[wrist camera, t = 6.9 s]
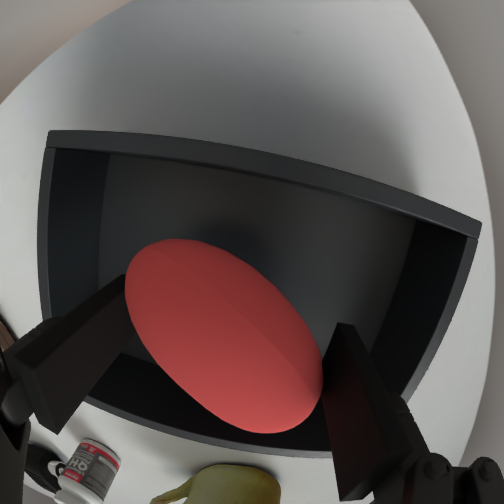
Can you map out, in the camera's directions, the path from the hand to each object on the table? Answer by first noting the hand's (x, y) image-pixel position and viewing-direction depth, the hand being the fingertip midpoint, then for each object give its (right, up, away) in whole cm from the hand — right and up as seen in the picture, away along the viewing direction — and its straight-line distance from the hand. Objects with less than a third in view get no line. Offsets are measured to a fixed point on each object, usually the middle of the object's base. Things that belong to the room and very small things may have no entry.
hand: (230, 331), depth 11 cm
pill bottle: (-17, -20, +12) cm, 29 cm away
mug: (-2, -20, +11) cm, 23 cm away
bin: (0, +1, +5) cm, 6 cm away
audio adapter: (-37, -33, +16) cm, 52 cm away
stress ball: (0, 0, +1) cm, 1 cm away
